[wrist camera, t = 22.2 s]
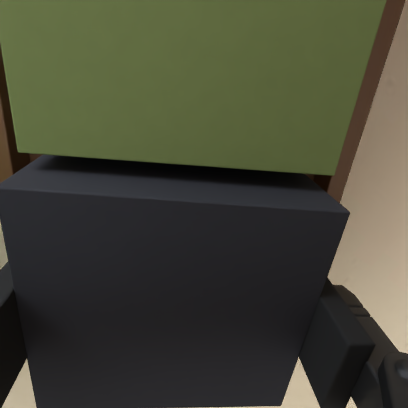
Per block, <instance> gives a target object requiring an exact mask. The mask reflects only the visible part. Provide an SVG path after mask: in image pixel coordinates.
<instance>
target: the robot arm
mask: <svg viewBox="0 0 408 408" xmlns="http://www.w3.org/2000/svg"><path fill="white" fill-rule="evenodd" d="M299 358H300V361H301V363H302V365H303V368H304V370H305V372H306V375H307V377H308V379H309V382H310V384H311V387H312V389H313V391H314V394H315V396H316V398H317V401H318V403H319V405H320V408H345V407H346V405H347V403H348V401H349V399H350V397H352V399H353V400H354V402H355V404H356V406H357V408H408V354H406V353H402V352H399V351H398V350H397V348H396V347H395V346H394V345H393V343H392V342H391V341H390V339H389V338H388V337H387V336H386V334H385V333H384V332H383V331H382V329H381V328H380V327H379V325H378V324H377V323H376V322H375V320H374V319H373V318H372V317H370V314H369V313H368V311H367V310H366V309H365V308H363V305H362V304H361V303H360V301H359V300H358V299H357V297H356V296H355V295H354V294H353V293H351V292H350V291H349V290H347V289H346V288H345V287H344V286H342V285H332V283H331V282H330V280H329V279H328V278H327V279H326V282H325V284H324V287H323V290H322V293H321V296H320V298H319V300H318V303H317V306H316V309H315V312H314V315H313V317H312V320H311V323H310V326H309V329H308V332H307V335H306V337H305V340H304V343H303V346H302V348H301V351H300V354H299ZM26 359H27V353H26V348H25V343H24V338H23V333H22V328H21V323H20V318H19V313H18V308H17V303H16V298H15V293H14V288H13V282H12V277H11V272H10V267H9V262H7V263H6V264H5V266H4V267H3V268H2V269H1V270H0V408H1V407H2V406H3V404H4V402H5V400H6V398H7V396H8V394H9V392H10V390H11V388H12V386H13V384H14V382H15V380H16V378H17V376H18V374H19V372H20V370H21V369H22V367H23V365H24V363H25V361H26Z"/></svg>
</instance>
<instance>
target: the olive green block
mask: <svg viewBox="0 0 408 408" xmlns="http://www.w3.org/2000/svg"><path fill="white" fill-rule="evenodd" d="M386 1H387V0H0V44H1V50H2V56H3V62H4V69H5V75H6V81H7V87H8V94H9V100H10V106H11V112H12V119H13V125H14V131H15V137H16V144H17V150H18V152H19V153H30V154H43V155H57V156H70V157H84V158H98V159H111V160H125V161H138V162H152V163H166V164H179V165H193V166H206V167H220V168H233V169H247V170H261V171H274V172H288V173H301V174H315V175H328V176H334V175H335V171H336V168H337V165H338V161H339V158H340V155H341V151H342V148H343V145H344V141H345V138H346V135H347V131H348V128H349V125H350V121H351V118H352V115H353V111H354V108H355V105H356V101H357V98H358V95H359V91H360V88H361V85H362V81H363V78H364V74H365V71H366V68H367V64H368V61H369V58H370V54H371V51H372V48H373V44H374V41H375V38H376V34H377V31H378V28H379V24H380V21H381V18H382V14H383V11H384V8H385V4H386Z"/></svg>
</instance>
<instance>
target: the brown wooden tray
mask: <svg viewBox="0 0 408 408" xmlns="http://www.w3.org/2000/svg"><path fill="white" fill-rule="evenodd" d="M404 3H405V0H387V1H386V4H385V8H384V11H383V14H382V18H381V21H380V24H379V28H378V31H377V34H376V38H375V41H374V44H373V48H372V51H371V54H370V58H369V61H368V64H367V68H366V71H365V74H364V78H363V81H362V85H361V88H360V91H359V95H358V98H357V101H356V105H355V108H354V111H353V115H352V118H351V121H350V125H349V128H348V131H347V135H346V138H345V141H344V145H343V148H342V151H341V155H340V158H339V161H338V165H337V168H336V171H335V175H334V176H328V175H315V174H305V175H307V176H308V177H309V178H310V179H311V180H313V181H314V182H315V183H316V184H317V185H318V186H320V187H321V188H322V189H323V190H324V191H326V192H327V193H328V194H329V195H330V196H331V197H333V198H334V199H335V200H336V201H337V202H339V203H340V200H341V197H342V194H343V191H344V188H345V185H346V182H347V179H348V176H349V172H350V169H351V166H352V163H353V160H354V157H355V154H356V151H357V148H358V145H359V142H360V139H361V136H362V132H363V129H364V126H365V123H366V120H367V117H368V114H369V111H370V108H371V105H372V102H373V99H374V95H375V92H376V89H377V86H378V83H379V80H380V77H381V74H382V71H383V68H384V65H385V62H386V59H387V55H388V52H389V49H390V46H391V43H392V40H393V37H394V34H395V31H396V28H397V25H398V22H399V19H400V15H401V12H402V9H403V6H404ZM42 155H43V154H30V153H19V152H18V150H17V144H16V137H15V131H14V125H13V119H12V112H11V106H10V100H9V94H8V87H7V81H6V75H5V69H4V62H3V56H2V50H1V44H0V183H1V182H3V181H4V180H6V179H7V178H9V177H10V176H12V175H13V174H15V173H16V172H18V171H19V170H21V169H22V168H24V167H25V166H27V165H28V164H30V163H31V162H33V161H34V160H36V159H37V158H39V157H40V156H42Z"/></svg>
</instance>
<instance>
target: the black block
mask: <svg viewBox="0 0 408 408" xmlns="http://www.w3.org/2000/svg"><path fill="white" fill-rule="evenodd" d="M349 215H350V212H349V211H348V210H347V209H346V208H344V207H343V206H342V205H341V204H340V203H339V202H337V201H336V200H335V199H334V198H333V197H331V196H330V195H329V194H328V193H327V192H326V191H324V190H323V189H322V188H321V187H320V186H318V185H317V184H316V183H315V182H314V181H313V180H311V179H310V178H309V177H308V176H307V175H305V174H301V173H288V172H274V171H261V170H247V169H233V168H220V167H206V166H193V165H179V164H166V163H152V162H138V161H125V160H111V159H98V158H84V157H70V156H57V155H42V156H40V157H39V158H37V159H36V160H34V161H33V162H31V163H30V164H28V165H27V166H25V167H24V168H22V169H21V170H19V171H18V172H16V173H15V174H13V175H12V176H10V177H9V178H7V179H6V180H4V181H3V182H1V183H0V220H1V225H2V231H3V236H4V241H5V246H6V251H7V256H8V262H9V267H10V272H11V277H12V282H13V288H14V293H15V298H16V303H17V308H18V313H19V318H20V323H21V328H22V333H23V338H24V343H25V348H26V353H27V360H28V365H29V370H30V376H31V381H32V386H33V391H34V396H35V401H36V407H37V408H188V407H247V406H281V404H282V401H283V399H284V396H285V393H286V390H287V387H288V385H289V382H290V379H291V376H292V374H293V371H294V368H295V365H296V362H297V360H298V357H299V354H300V351H301V348H302V346H303V343H304V340H305V337H306V335H307V332H308V329H309V326H310V323H311V320H312V317H313V315H314V312H315V309H316V306H317V303H318V300H319V298H320V296H321V293H322V290H323V287H324V284H325V282H326V279H327V276H328V273H329V270H330V268H331V265H332V262H333V259H334V256H335V254H336V251H337V248H338V245H339V243H340V240H341V237H342V234H343V231H344V229H345V226H346V223H347V220H348V217H349Z"/></svg>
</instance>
